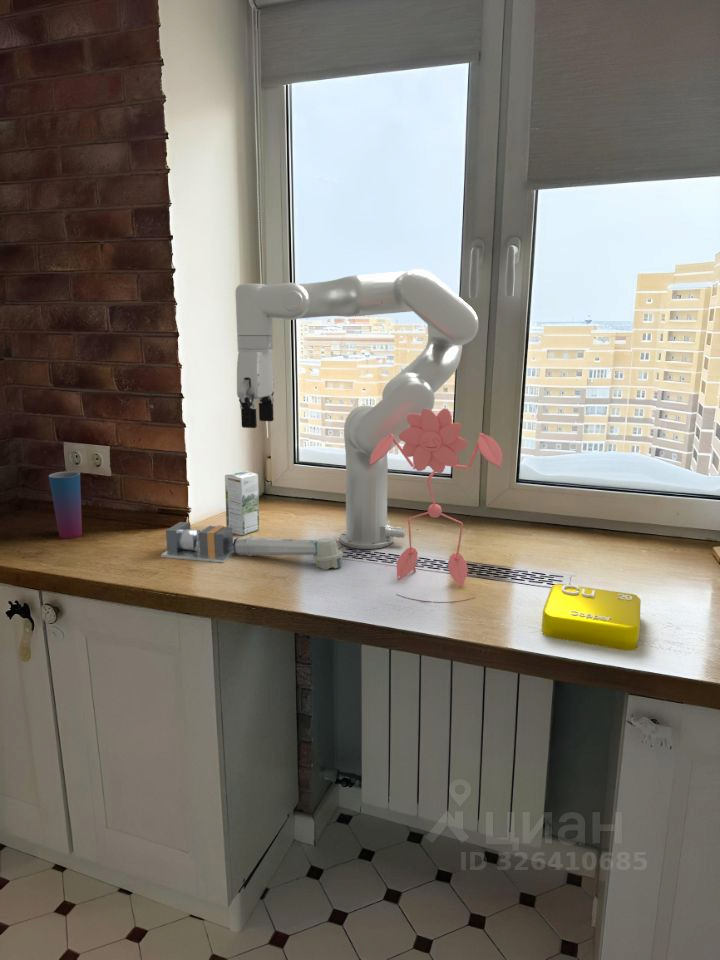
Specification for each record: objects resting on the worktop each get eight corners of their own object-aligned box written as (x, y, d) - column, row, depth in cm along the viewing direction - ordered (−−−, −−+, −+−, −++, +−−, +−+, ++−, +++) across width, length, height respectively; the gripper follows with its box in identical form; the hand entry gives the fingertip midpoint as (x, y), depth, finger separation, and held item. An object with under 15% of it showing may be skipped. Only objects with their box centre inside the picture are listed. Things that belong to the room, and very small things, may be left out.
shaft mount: (240, 549, 153) (239, 524, 151) (223, 562, 144) (222, 536, 143) (181, 544, 156) (179, 520, 155) (161, 557, 148) (159, 531, 146)
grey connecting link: (242, 533, 152) (343, 531, 143) (246, 562, 153) (347, 561, 144) (229, 540, 147) (333, 538, 138) (234, 569, 148) (338, 569, 139)
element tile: (539, 638, 112) (541, 611, 110) (551, 603, 125) (552, 579, 124) (637, 655, 106) (640, 627, 105) (638, 617, 119) (641, 591, 118)
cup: (91, 533, 164) (86, 473, 160) (66, 541, 158) (60, 479, 154) (74, 529, 167) (68, 470, 164) (49, 536, 162) (42, 475, 158)
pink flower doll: (376, 565, 143) (377, 400, 134) (499, 581, 134) (509, 406, 126) (351, 593, 129) (350, 411, 120) (487, 613, 121) (497, 419, 112)
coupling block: (233, 548, 151) (232, 526, 150) (223, 556, 146) (222, 533, 145) (210, 546, 152) (209, 524, 151) (200, 554, 148) (198, 531, 146)
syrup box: (243, 526, 170) (240, 469, 166) (260, 530, 166) (258, 473, 163) (226, 532, 165) (223, 474, 162) (243, 536, 162) (241, 477, 158)
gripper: (254, 342, 153) (257, 418, 157) (221, 345, 136) (225, 429, 140) (286, 343, 151) (287, 419, 155) (256, 346, 135) (259, 431, 139)
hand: (258, 424), depth 148 cm, fingers open, 9 cm apart
